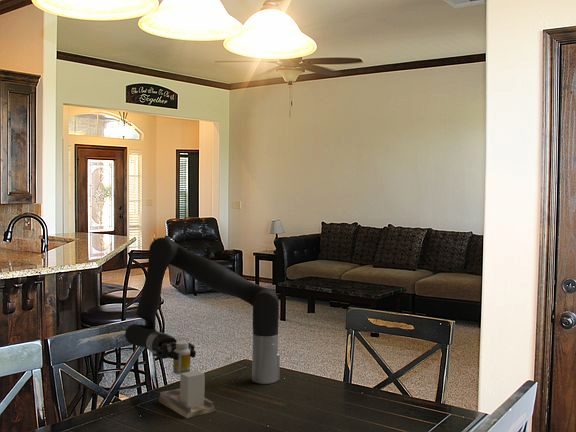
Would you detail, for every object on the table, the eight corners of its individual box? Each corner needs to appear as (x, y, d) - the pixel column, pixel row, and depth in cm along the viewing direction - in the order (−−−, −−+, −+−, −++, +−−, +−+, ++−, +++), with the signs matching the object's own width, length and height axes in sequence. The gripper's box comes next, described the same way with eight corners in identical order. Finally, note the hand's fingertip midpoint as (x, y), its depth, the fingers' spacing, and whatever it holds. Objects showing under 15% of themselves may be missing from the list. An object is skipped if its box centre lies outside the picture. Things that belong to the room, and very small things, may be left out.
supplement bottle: (191, 370, 201) (192, 341, 201) (187, 375, 196) (188, 345, 196) (175, 369, 202) (176, 340, 202) (171, 374, 197) (171, 344, 196)
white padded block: (195, 400, 198) (196, 369, 198) (204, 405, 194) (204, 373, 194) (179, 404, 194) (179, 372, 194) (187, 409, 190) (187, 377, 190)
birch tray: (186, 396, 207) (186, 387, 207) (214, 411, 193) (214, 401, 193) (158, 401, 201) (159, 392, 201) (186, 418, 187) (186, 408, 187)
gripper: (142, 336, 205) (166, 347, 192) (180, 330, 214) (205, 341, 201) (141, 358, 206) (165, 370, 192) (180, 352, 215) (205, 363, 201)
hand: (186, 355), depth 197 cm, fingers closed on supplement bottle, 5 cm apart
